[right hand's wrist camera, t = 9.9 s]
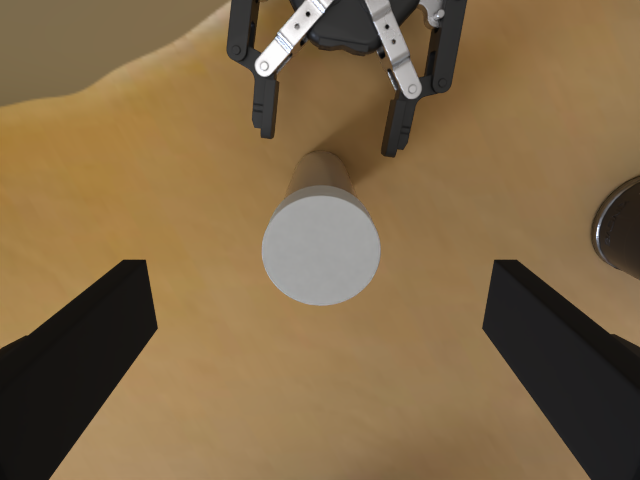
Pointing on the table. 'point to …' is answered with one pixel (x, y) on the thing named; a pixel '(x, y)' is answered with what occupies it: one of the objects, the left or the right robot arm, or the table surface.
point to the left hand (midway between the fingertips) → (328, 146)
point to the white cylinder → (321, 246)
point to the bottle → (320, 173)
